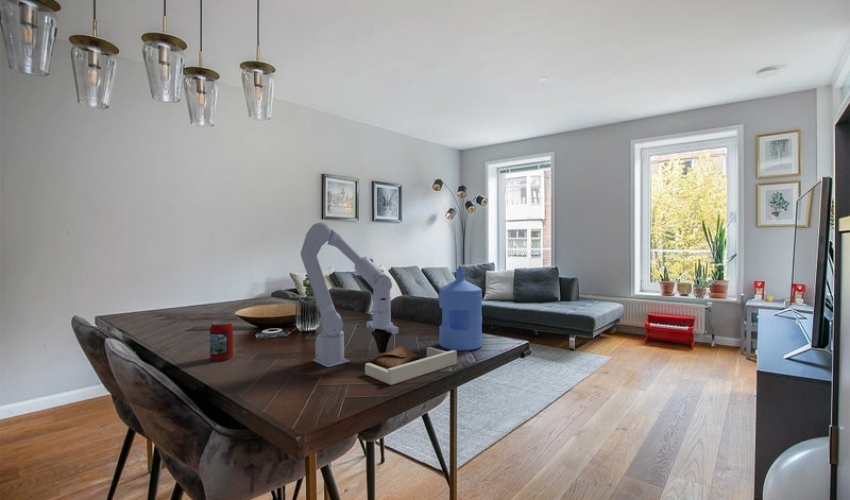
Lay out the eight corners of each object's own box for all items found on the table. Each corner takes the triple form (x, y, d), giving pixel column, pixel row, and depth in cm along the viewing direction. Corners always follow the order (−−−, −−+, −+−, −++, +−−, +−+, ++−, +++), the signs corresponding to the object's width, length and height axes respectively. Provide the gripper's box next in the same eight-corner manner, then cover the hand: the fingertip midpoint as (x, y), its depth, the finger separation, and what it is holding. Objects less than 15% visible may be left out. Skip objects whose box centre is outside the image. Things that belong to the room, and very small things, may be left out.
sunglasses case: (397, 372, 116) (386, 351, 117) (379, 382, 118) (368, 361, 119) (421, 356, 133) (411, 338, 134) (404, 364, 135) (395, 347, 136)
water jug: (460, 338, 157) (460, 266, 156) (491, 346, 145) (491, 269, 144) (430, 344, 147) (429, 268, 146) (460, 354, 135) (460, 271, 134)
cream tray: (365, 374, 115) (365, 360, 115) (429, 355, 133) (429, 343, 133) (391, 384, 106) (391, 370, 106) (456, 363, 124) (456, 351, 124)
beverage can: (205, 361, 129) (204, 324, 128) (220, 355, 135) (220, 319, 135) (223, 362, 127) (222, 324, 127) (237, 356, 134) (237, 320, 133)
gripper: (405, 312, 128) (406, 354, 128) (378, 306, 138) (378, 345, 139) (388, 315, 123) (388, 358, 123) (361, 309, 133) (361, 349, 134)
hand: (382, 352), depth 131 cm, fingers closed
